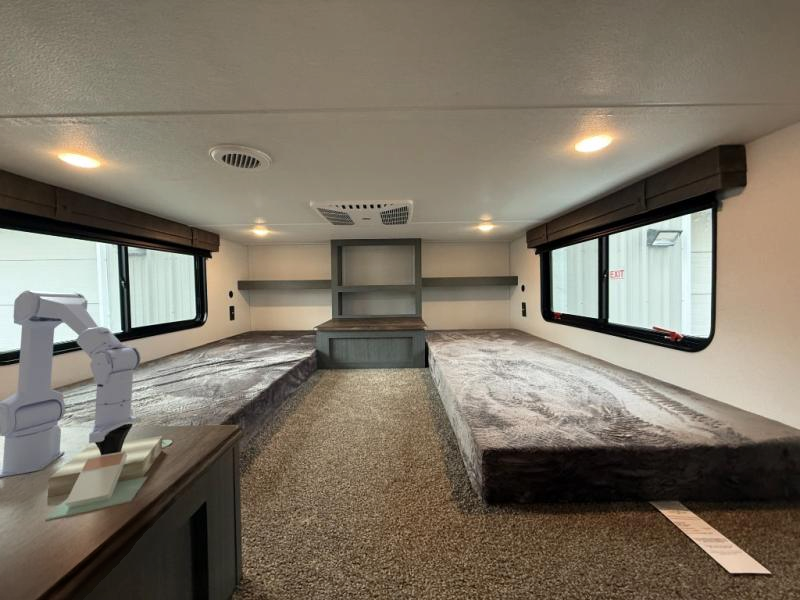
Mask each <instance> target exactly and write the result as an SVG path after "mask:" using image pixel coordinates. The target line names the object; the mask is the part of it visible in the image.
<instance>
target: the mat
mask: <svg viewBox="0 0 800 600" xmlns="http://www.w3.org/2000/svg"><path fill="white" fill-rule="evenodd" d="M147 479H148V476H143V477H142V478H137V479H132V480H127V481H122V482H117V483H116V486H115V488H114V491H113V493H112V496H111V499H108V500H103V501H99V502H94V503H90V504H85V505H81V506H76V507H72V508H68V507H67V505H66V504H65V503H66V501H67V499H68V497H66V498H65V500H63V501H62V502H61V503H60V505H58V506H57V507H56V508H55V509H54V510H53V511H52V512H51V513H50V514H49V515H48V516H46V517H45V519H44V522H47V521H50V520H54V519H55V520H56V519H59V518H64V517H68V516H72V515H78V514H82V513H86V512H91V511H94V510H100V509H103V508H107V507H113V506H116V505H121V504H126V503H130V502H132V501H133V500H134V498H135V496H136V495H137V494H138V492H139V491H140V489H141V487H143V484H144V483H146V480H147Z"/></svg>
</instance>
